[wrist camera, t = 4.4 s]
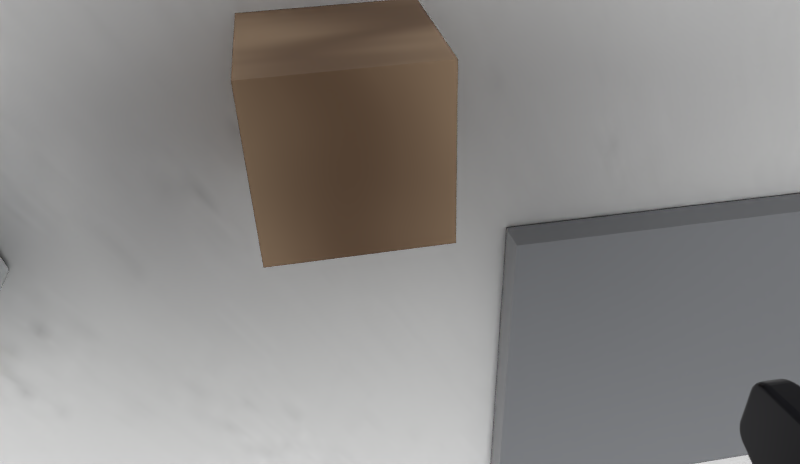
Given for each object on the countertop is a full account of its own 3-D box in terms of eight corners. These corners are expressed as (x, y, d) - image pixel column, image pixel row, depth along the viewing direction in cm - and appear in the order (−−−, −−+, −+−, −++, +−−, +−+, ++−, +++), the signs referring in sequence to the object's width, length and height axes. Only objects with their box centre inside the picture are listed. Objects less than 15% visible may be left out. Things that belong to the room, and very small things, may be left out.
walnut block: (415, -3, 18) (458, 58, 14) (419, 155, 21) (455, 243, 17) (235, 12, 18) (230, 80, 14) (261, 173, 20) (263, 267, 16)
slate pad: (855, 186, 24) (876, 201, 23) (763, 431, 31) (777, 449, 30) (506, 227, 22) (516, 245, 22) (490, 475, 29) (496, 496, 28)
